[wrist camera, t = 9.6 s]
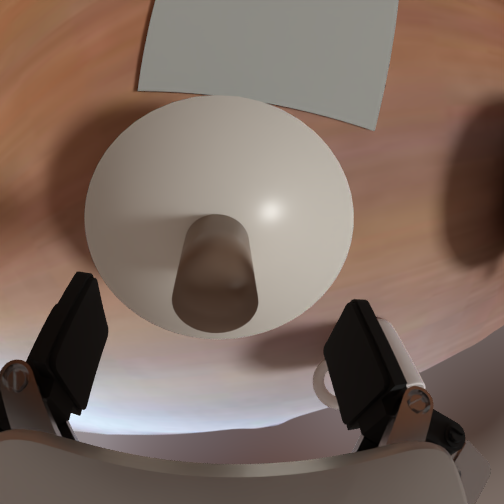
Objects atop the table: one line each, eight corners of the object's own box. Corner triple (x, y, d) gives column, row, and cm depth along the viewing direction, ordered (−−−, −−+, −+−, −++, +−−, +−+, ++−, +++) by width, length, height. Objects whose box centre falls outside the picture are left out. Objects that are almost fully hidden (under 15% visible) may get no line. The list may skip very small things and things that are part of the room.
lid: (91, 91, 11) (25, 99, 6) (377, 129, 14) (444, 155, 9) (106, 316, 19) (84, 379, 14) (307, 333, 22) (326, 395, 17)
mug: (303, 370, 35) (320, 438, 26) (304, 330, 31) (326, 410, 22) (384, 350, 35) (412, 408, 26) (397, 309, 31) (435, 373, 22)
